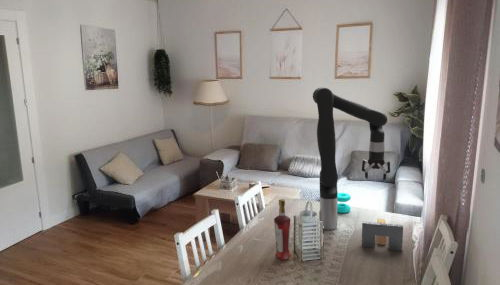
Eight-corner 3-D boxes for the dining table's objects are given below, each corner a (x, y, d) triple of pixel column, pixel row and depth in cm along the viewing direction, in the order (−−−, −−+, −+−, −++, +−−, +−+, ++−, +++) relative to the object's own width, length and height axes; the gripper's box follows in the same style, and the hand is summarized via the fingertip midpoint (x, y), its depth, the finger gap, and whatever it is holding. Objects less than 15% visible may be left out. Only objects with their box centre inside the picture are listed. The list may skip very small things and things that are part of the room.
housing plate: (361, 246, 177) (362, 223, 175) (361, 244, 179) (362, 221, 177) (402, 251, 171) (403, 226, 169) (401, 249, 173) (402, 225, 171)
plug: (377, 244, 179) (377, 234, 178) (376, 227, 198) (377, 218, 197) (385, 245, 178) (386, 235, 177) (384, 227, 196) (385, 219, 195)
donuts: (334, 197, 216) (332, 192, 225) (334, 213, 218) (332, 207, 227) (352, 197, 215) (349, 191, 224) (351, 213, 217) (348, 207, 226)
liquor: (272, 256, 171) (270, 198, 166) (286, 252, 174) (285, 196, 169) (279, 263, 165) (278, 204, 159) (294, 259, 167) (293, 201, 162)
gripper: (362, 150, 192) (361, 180, 196) (391, 152, 188) (389, 182, 191) (362, 147, 199) (361, 176, 202) (391, 149, 194) (389, 178, 198)
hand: (375, 179), depth 197 cm, fingers open, 8 cm apart
